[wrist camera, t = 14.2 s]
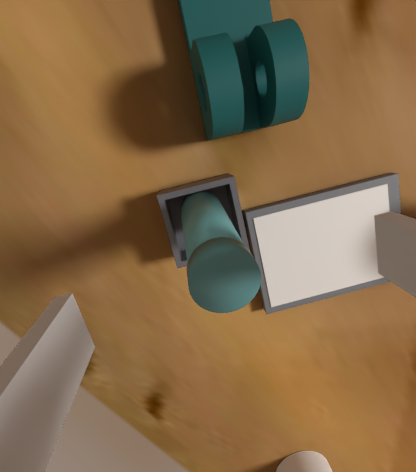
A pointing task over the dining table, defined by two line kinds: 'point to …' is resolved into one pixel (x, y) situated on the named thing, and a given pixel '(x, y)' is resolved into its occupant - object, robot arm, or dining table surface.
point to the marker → (216, 256)
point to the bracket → (244, 65)
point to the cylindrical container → (304, 463)
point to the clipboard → (320, 241)
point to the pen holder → (174, 196)
